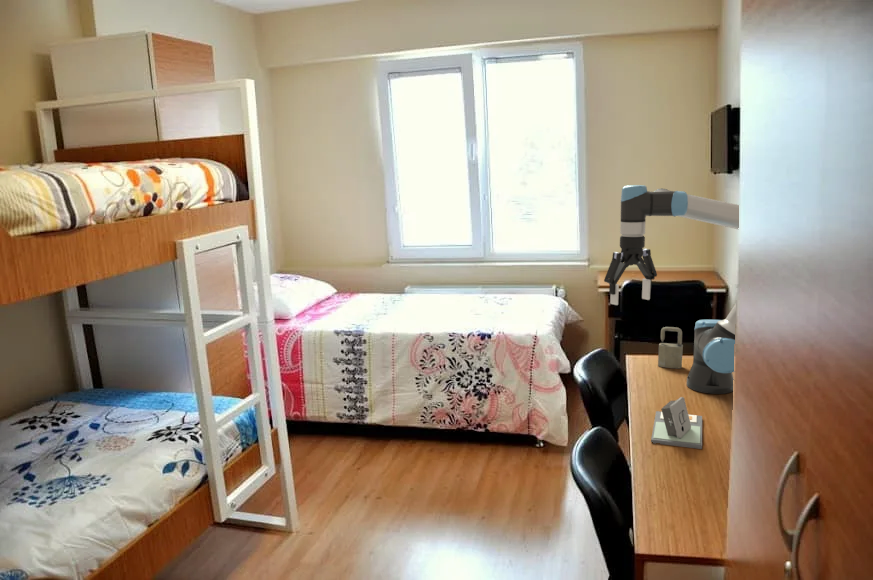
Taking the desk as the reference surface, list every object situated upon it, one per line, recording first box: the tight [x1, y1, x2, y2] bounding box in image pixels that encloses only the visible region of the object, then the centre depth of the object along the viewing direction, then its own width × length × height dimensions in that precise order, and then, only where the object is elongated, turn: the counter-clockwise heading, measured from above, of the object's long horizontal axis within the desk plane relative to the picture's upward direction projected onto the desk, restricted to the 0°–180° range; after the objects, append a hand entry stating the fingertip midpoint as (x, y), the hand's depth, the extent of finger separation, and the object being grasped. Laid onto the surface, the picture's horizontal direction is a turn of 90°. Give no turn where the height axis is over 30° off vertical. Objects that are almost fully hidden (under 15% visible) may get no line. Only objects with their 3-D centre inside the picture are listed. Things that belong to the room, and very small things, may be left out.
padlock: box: [657, 326, 684, 369], centre depth 248 cm, size 4×8×15 cm, turn 66°
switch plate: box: [650, 410, 703, 450], centre depth 192 cm, size 22×13×1 cm, turn 159°
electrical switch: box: [661, 396, 691, 438], centre depth 187 cm, size 9×5×9 cm, turn 142°
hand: (630, 301), depth 214 cm, fingers open, 13 cm apart
